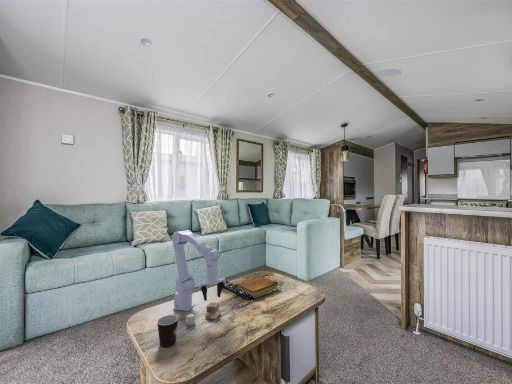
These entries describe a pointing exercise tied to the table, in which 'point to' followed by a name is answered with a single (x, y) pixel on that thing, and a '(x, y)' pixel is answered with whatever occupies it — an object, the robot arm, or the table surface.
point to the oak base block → (212, 314)
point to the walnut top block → (212, 307)
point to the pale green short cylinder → (190, 319)
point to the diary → (257, 286)
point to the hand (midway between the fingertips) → (212, 298)
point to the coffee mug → (167, 330)
